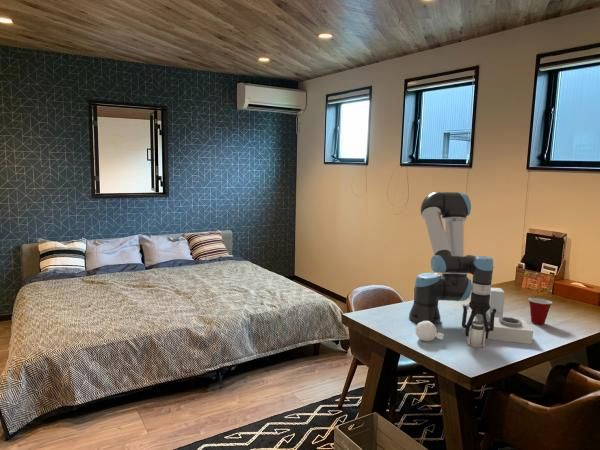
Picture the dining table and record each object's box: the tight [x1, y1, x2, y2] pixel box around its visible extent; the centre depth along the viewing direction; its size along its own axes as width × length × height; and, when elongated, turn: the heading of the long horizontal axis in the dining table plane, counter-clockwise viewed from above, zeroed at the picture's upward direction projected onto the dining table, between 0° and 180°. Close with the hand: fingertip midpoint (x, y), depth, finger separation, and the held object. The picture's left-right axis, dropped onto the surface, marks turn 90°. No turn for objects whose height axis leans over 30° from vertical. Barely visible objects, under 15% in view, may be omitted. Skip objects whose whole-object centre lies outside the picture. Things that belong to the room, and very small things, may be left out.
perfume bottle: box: [415, 321, 445, 342], centre depth 197 cm, size 9×9×12 cm
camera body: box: [474, 312, 534, 345], centre depth 207 cm, size 22×14×8 cm, turn 78°
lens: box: [469, 320, 484, 348], centre depth 194 cm, size 5×5×10 cm
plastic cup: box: [527, 297, 553, 326], centre depth 226 cm, size 11×11×12 cm
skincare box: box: [487, 287, 506, 318], centre depth 229 cm, size 8×7×16 cm
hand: (475, 344), depth 195 cm, fingers open, 5 cm apart
